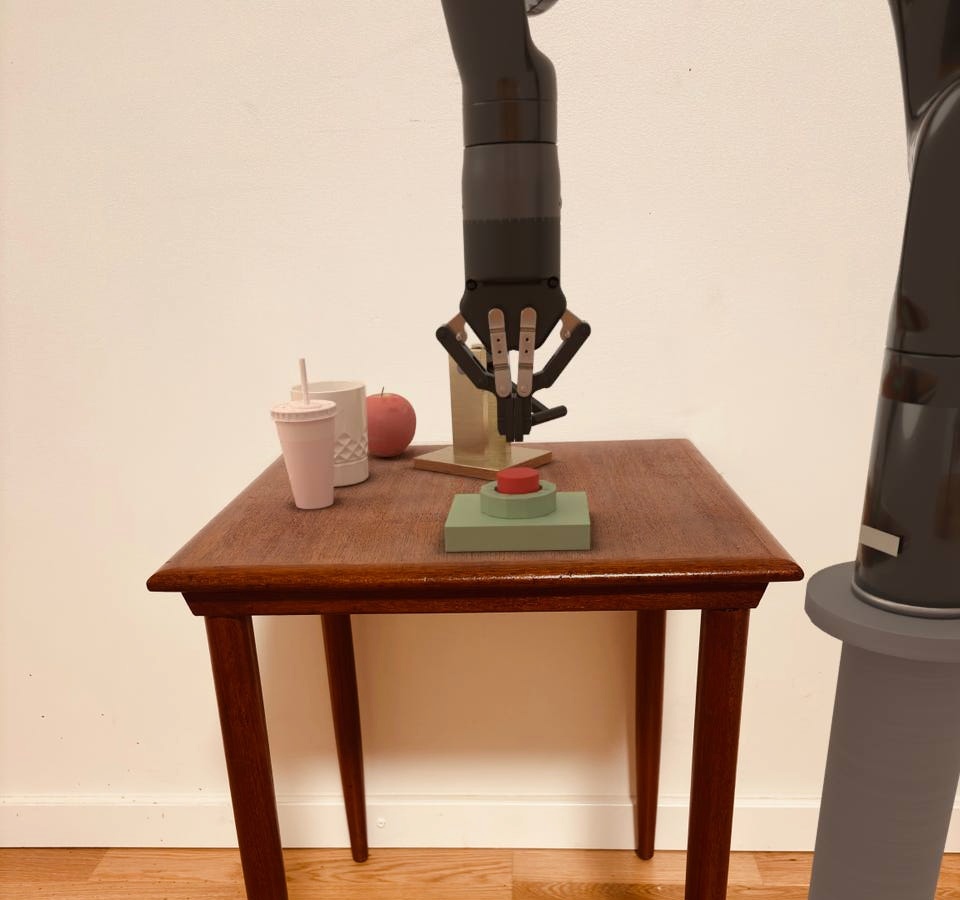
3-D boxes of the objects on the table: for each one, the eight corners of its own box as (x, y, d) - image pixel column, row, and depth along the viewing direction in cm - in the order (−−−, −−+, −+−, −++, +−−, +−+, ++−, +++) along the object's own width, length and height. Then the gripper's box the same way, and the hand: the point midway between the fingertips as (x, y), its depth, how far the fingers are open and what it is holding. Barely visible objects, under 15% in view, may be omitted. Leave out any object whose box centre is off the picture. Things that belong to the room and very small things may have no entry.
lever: (562, 423, 99) (571, 404, 97) (530, 433, 95) (539, 414, 93) (483, 363, 103) (490, 344, 101) (448, 370, 98) (455, 350, 97)
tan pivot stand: (551, 461, 104) (551, 343, 99) (498, 481, 97) (494, 355, 92) (469, 450, 111) (464, 339, 106) (413, 468, 104) (405, 350, 99)
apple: (377, 447, 114) (371, 381, 111) (429, 451, 111) (424, 383, 108) (343, 460, 109) (336, 391, 105) (396, 465, 105) (391, 393, 102)
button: (539, 486, 81) (539, 466, 80) (539, 497, 78) (538, 477, 77) (498, 487, 81) (497, 467, 80) (496, 498, 78) (495, 478, 77)
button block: (585, 514, 85) (586, 471, 83) (590, 549, 76) (590, 502, 74) (456, 516, 86) (454, 474, 84) (445, 552, 77) (442, 505, 75)
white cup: (286, 486, 99) (274, 391, 95) (326, 468, 105) (316, 378, 101) (350, 491, 96) (340, 393, 92) (386, 473, 102) (379, 380, 98)
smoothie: (313, 516, 88) (295, 365, 82) (268, 507, 91) (248, 361, 86) (360, 500, 92) (346, 355, 87) (316, 491, 96) (299, 352, 90)
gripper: (419, 216, 67) (432, 452, 75) (601, 210, 66) (596, 449, 74) (430, 217, 74) (441, 432, 81) (596, 211, 73) (592, 429, 80)
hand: (515, 440), depth 77 cm, fingers closed
